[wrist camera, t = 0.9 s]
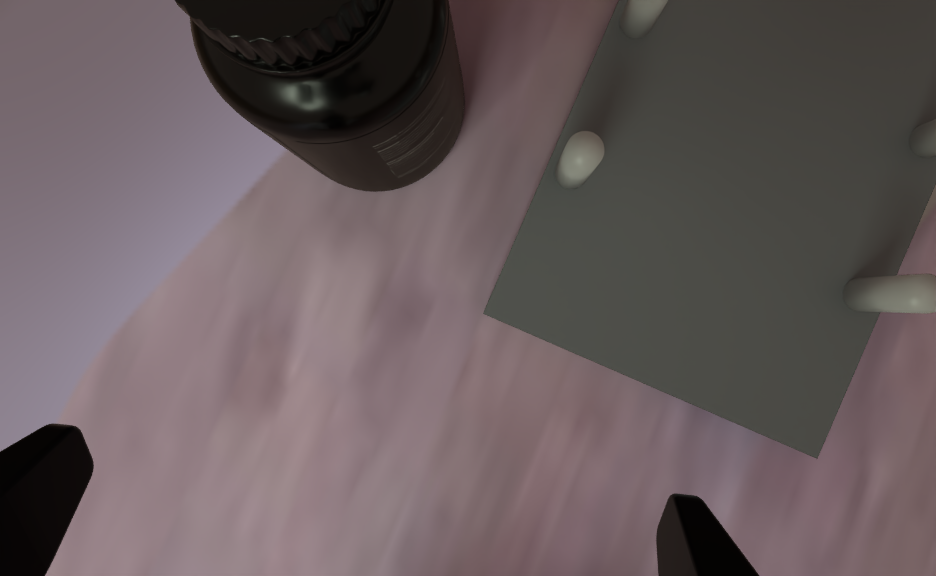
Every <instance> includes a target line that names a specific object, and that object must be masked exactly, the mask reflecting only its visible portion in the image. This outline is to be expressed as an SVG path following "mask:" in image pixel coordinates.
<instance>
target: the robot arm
mask: <svg viewBox="0 0 936 576" xmlns="http://www.w3.org/2000/svg"><path fill="white" fill-rule="evenodd" d="M93 467H94V465H93V459H92V456H91V454H90V451H89V449H88V446H87V444H86V442H85V439H84V437H83V434H82V432H81V430H80V429H79V428H77V427H76V426H72V425H63V424H49V425H46V426H44V427H42V428H40V429H38V430H36V431H35V432H33V433H31V434H30V435H28V436H26V437H24V438H23V439H21V440H19V441H18V442H16V443H14V444H13V445H11V446H9V447H7V448H6V449H4V450H3V451H1V452H0V576H45V575H46V573H47V571H48V569H49V567H50V565H51V563H52V561H53V559H54V557H55V555H56V553H57V551H58V548H59V546H60V544H61V542H62V540H63V538H64V535H65V533H66V531H67V529H68V527H69V524H70V522H71V520H72V518H73V516H74V514H75V511H76V509H77V507H78V505H79V503H80V501H81V498H82V496H83V494H84V492H85V490H86V488H87V485H88V483H89V481H90V479H91V476H92V473H93ZM656 543H657V558H658V573H659V576H759V575H758V573H757V572H756V571H755V569H754V568H753V567H752V565H751V564H750V563H749V561H748V560H747V559H746V557H745V556H744V555H743V553H742V552H741V551H740V549H739V548H738V547H737V545H736V544H735V543H734V541H733V540H732V539H731V537H730V536H729V535H728V533H727V532H726V531H725V529H724V528H723V527H722V525H721V524H720V523H719V521H718V520H717V519H716V517H715V516H714V515H713V513H712V512H711V511H710V509H709V508H708V507H707V505H706V504H705V503H704V501H703V500H702V499H701V498H699V497H697V496H693V495H684V494H672V495H671V496H670V497H669V499H668V501H667V504H666V506H665V509H664V511H663V514H662V517H661V519H660V522H659V525H658V528H657V537H656Z"/></svg>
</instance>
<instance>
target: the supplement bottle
mask: <svg viewBox="0 0 936 576" xmlns="http://www.w3.org/2000/svg"><path fill="white" fill-rule="evenodd" d="M175 1H176V3H177V5H178V6H179V7H180V8H181V9H182V10H183V11H184V12H185V13H186V14H188V15H189V16H190V24H191V32H192V36H193V41H194V46H195V49H196V52H197V55H198V58H199V60H200V63H201V65H202V67H203V69H204V71H205V73H206V75H207V77H208V78H209V80H210V82H211V83H212V85H213V86H214V88H215V89H216V90H217V92H218V93H219V94H220V95H221V97H222V98H223V99H224V100H225V101H226V102H227V103H228V104H229V105H230V106H231V107H232V108H233V109H234V110H235V111H236V112H237V113H239V114H240V115H241V116H242V117H243V118H245V119H246V120H247V121H249V122H250V123H251V124H253V125H254V126H255V127H257V128H258V129H259V130H261V131H262V132H264V133H265V134H266V135H268V136H269V137H271V138H272V139H273V140H275V141H276V142H278V143H279V144H280V145H282V146H283V147H285V148H286V149H287V150H289V151H290V152H292V153H293V154H294V155H296V156H297V157H299V158H300V159H301V160H303V161H304V162H306V163H307V164H308V165H310V166H311V167H313V168H314V169H315V170H317V171H318V172H320V173H321V174H323V175H325V176H326V177H328V178H329V179H331V180H333V181H335V182H337V183H339V184H341V185H344V186H347V187H349V188H353V189H357V190H362V191H373V192H377V191H389V190H394V189H399V188H402V187H405V186H408V185H410V184H412V183H414V182H416V181H418V180H420V179H422V178H423V177H425V176H426V175H428V174H429V173H430V172H432V171H433V170H434V169H435V168H436V167H437V166H438V165H439V164H440V163H441V162H442V161H443V160H444V158H445V157H446V156H447V155H448V153H449V152H450V150H451V148H452V147H453V145H454V143H455V141H456V139H457V137H458V134H459V132H460V128H461V125H462V121H463V115H464V104H465V99H464V87H463V79H462V73H461V67H460V62H459V56H458V50H457V45H456V39H455V34H454V28H453V23H452V17H451V12H450V6H449V1H448V0H175Z"/></svg>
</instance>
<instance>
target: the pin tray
mask: <svg viewBox="0 0 936 576" xmlns="http://www.w3.org/2000/svg"><path fill="white" fill-rule="evenodd" d="M935 185H936V0H619V1H618V4H617V6H616V8H615V11H614V13H613V15H612V17H611V20H610V22H609V24H608V27H607V29H606V31H605V34H604V36H603V38H602V41H601V43H600V45H599V47H598V50H597V52H596V54H595V57H594V59H593V61H592V64H591V66H590V68H589V71H588V73H587V75H586V77H585V80H584V82H583V84H582V87H581V89H580V91H579V94H578V96H577V98H576V101H575V103H574V105H573V107H572V110H571V112H570V114H569V117H568V119H567V121H566V124H565V126H564V128H563V131H562V133H561V135H560V137H559V140H558V142H557V144H556V147H555V149H554V151H553V154H552V156H551V158H550V161H549V163H548V165H547V168H546V170H545V172H544V174H543V177H542V179H541V181H540V184H539V186H538V188H537V191H536V193H535V195H534V198H533V200H532V202H531V204H530V207H529V209H528V211H527V214H526V216H525V218H524V221H523V223H522V225H521V228H520V230H519V232H518V234H517V237H516V239H515V241H514V244H513V246H512V248H511V251H510V253H509V255H508V258H507V260H506V262H505V264H504V267H503V269H502V271H501V274H500V276H499V278H498V281H497V283H496V285H495V288H494V290H493V292H492V294H491V297H490V299H489V301H488V304H487V306H486V308H485V311H484V313H483V314H485V315H488V316H490V317H492V318H495V319H497V320H499V321H501V322H504V323H506V324H508V325H511V326H513V327H515V328H518V329H520V330H522V331H524V332H527V333H529V334H531V335H534V336H536V337H538V338H541V339H543V340H545V341H547V342H550V343H552V344H554V345H557V346H559V347H561V348H564V349H566V350H568V351H570V352H573V353H575V354H577V355H580V356H582V357H584V358H587V359H589V360H591V361H594V362H596V363H598V364H600V365H603V366H605V367H607V368H610V369H612V370H614V371H617V372H619V373H621V374H623V375H626V376H628V377H630V378H633V379H635V380H637V381H640V382H642V383H644V384H646V385H649V386H651V387H653V388H656V389H658V390H660V391H663V392H665V393H667V394H669V395H672V396H674V397H676V398H679V399H681V400H683V401H686V402H688V403H690V404H692V405H695V406H697V407H699V408H702V409H704V410H706V411H709V412H711V413H713V414H715V415H718V416H720V417H722V418H725V419H727V420H729V421H732V422H734V423H736V424H738V425H741V426H743V427H745V428H748V429H750V430H752V431H755V432H757V433H759V434H761V435H764V436H766V437H768V438H771V439H773V440H775V441H778V442H780V443H782V444H784V445H787V446H789V447H791V448H794V449H796V450H798V451H801V452H803V453H805V454H807V455H810V456H812V457H814V458H818V456H819V453H820V451H821V449H822V446H823V444H824V442H825V439H826V437H827V435H828V432H829V430H830V428H831V426H832V423H833V421H834V419H835V416H836V414H837V412H838V409H839V407H840V405H841V402H842V400H843V398H844V395H845V393H846V391H847V388H848V386H849V384H850V381H851V379H852V377H853V375H854V372H855V370H856V368H857V365H858V363H859V361H860V358H861V356H862V354H863V351H864V349H865V347H866V344H867V342H868V340H869V337H870V335H871V333H872V331H873V328H874V326H875V324H876V321H877V319H878V317H879V314H880V312H897V313H933V312H936V276H935V275H932V274H915V275H898V276H896V275H897V273H898V270H899V268H900V266H901V263H902V261H903V259H904V256H905V254H906V252H907V249H908V247H909V245H910V242H911V240H912V238H913V236H914V233H915V231H916V229H917V226H918V224H919V222H920V219H921V217H922V215H923V212H924V210H925V207H926V205H927V203H928V201H929V198H930V196H931V194H932V192H933V189H934V187H935Z"/></svg>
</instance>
